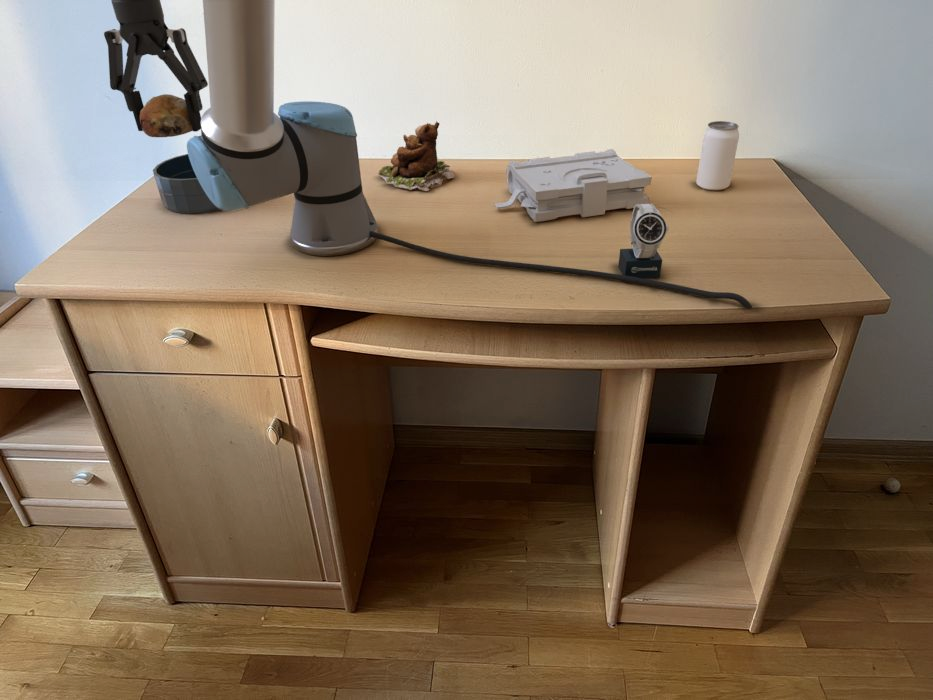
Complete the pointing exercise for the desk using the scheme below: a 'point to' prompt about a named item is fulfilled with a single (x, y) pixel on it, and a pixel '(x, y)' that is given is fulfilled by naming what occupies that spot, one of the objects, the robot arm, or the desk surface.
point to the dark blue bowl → (181, 187)
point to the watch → (644, 243)
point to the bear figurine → (417, 162)
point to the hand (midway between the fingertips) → (171, 129)
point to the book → (575, 185)
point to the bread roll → (165, 117)
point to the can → (717, 155)
